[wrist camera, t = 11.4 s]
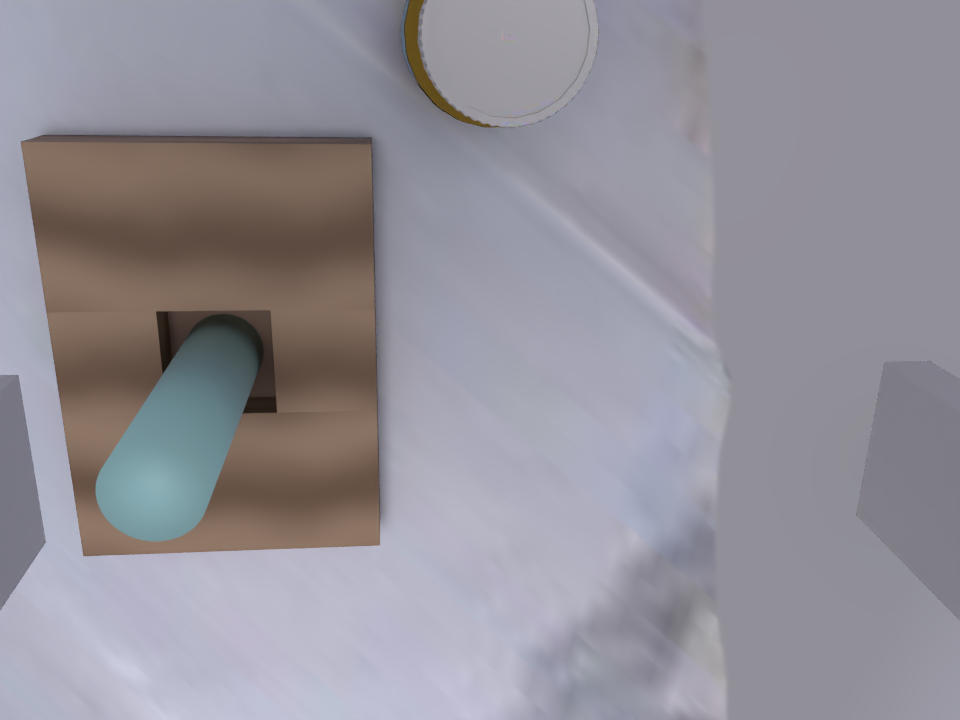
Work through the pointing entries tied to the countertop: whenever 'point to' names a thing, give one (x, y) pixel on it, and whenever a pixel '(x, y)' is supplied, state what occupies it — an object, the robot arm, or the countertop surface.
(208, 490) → the pin
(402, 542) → the countertop surface
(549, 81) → the bottle
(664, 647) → the countertop surface
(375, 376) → the bore block
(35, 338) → the countertop surface
